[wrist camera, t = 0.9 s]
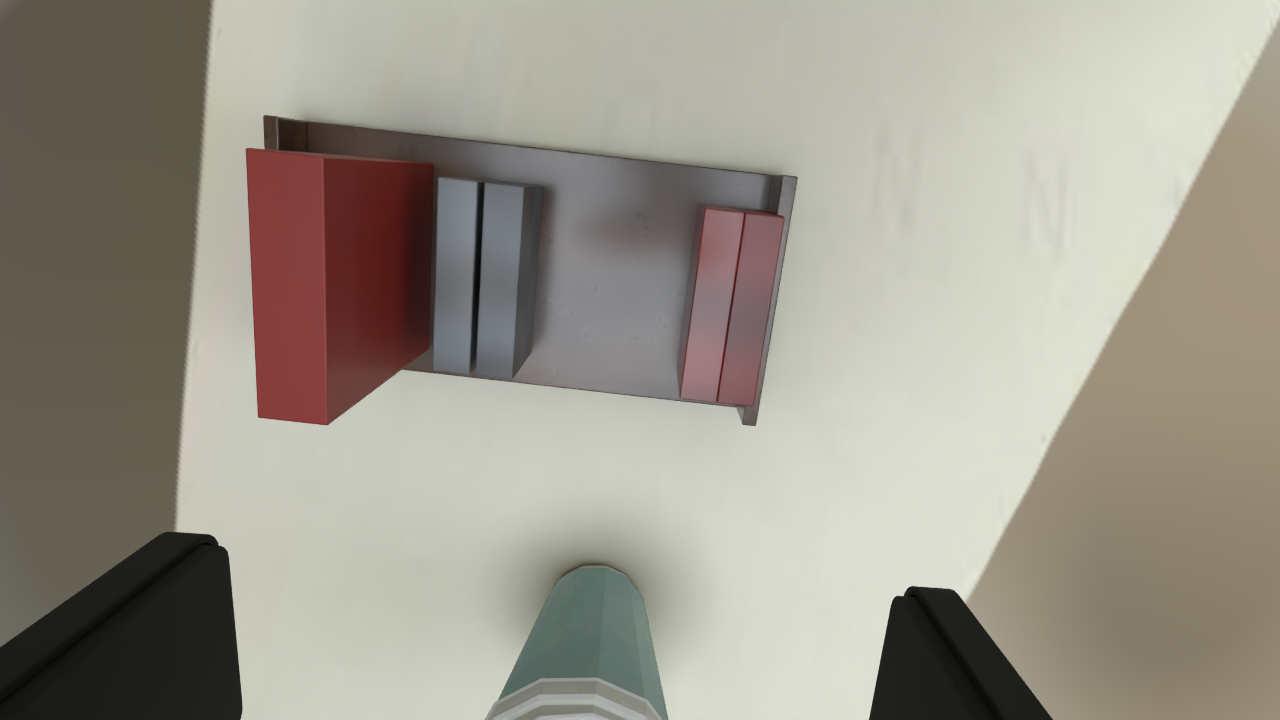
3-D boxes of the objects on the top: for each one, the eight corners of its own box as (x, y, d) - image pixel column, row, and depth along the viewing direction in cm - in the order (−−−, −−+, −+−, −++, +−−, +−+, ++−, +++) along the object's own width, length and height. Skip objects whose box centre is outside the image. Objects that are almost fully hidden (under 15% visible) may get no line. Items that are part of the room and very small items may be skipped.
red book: (381, 157, 38) (244, 147, 25) (433, 163, 38) (323, 156, 25) (380, 344, 41) (257, 417, 28) (428, 349, 41) (327, 426, 28)
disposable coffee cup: (648, 520, 45) (645, 686, 30) (692, 651, 47) (707, 861, 33) (500, 559, 46) (428, 736, 31) (551, 685, 48) (506, 902, 34)
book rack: (302, 121, 38) (231, 109, 32) (783, 176, 39) (808, 176, 32) (307, 354, 42) (245, 385, 36) (746, 403, 42) (762, 443, 36)
